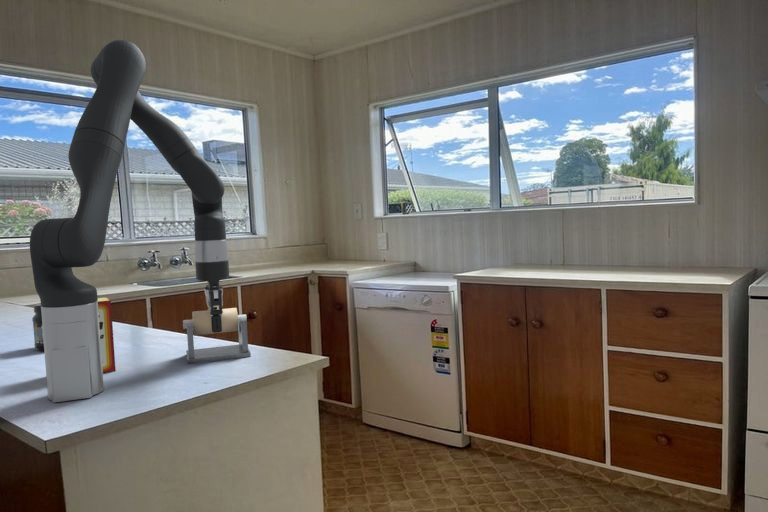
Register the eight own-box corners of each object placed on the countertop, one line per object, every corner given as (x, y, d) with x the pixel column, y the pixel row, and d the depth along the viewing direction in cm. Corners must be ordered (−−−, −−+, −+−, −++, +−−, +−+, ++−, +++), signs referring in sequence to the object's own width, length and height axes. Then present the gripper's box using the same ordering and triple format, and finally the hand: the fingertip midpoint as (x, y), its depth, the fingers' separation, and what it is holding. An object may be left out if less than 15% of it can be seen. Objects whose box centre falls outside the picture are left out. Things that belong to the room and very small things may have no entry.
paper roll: (245, 328, 133) (244, 305, 133) (248, 331, 128) (247, 308, 128) (183, 334, 128) (182, 311, 128) (184, 338, 123) (182, 314, 122)
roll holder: (250, 356, 126) (248, 320, 125) (187, 364, 121) (185, 326, 120) (245, 347, 135) (243, 314, 135) (186, 354, 130) (184, 319, 130)
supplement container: (73, 341, 151) (70, 299, 151) (85, 346, 144) (82, 302, 143) (30, 348, 144) (26, 304, 143) (40, 354, 137) (36, 307, 136)
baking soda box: (112, 365, 123) (107, 295, 122) (115, 371, 117) (110, 298, 116) (64, 372, 118) (59, 300, 117) (65, 379, 112) (59, 303, 111)
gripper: (231, 260, 122) (235, 333, 123) (225, 256, 135) (229, 323, 136) (196, 262, 119) (201, 337, 120) (193, 258, 132) (197, 326, 133)
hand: (215, 329), depth 128 cm, fingers closed on paper roll, 5 cm apart
